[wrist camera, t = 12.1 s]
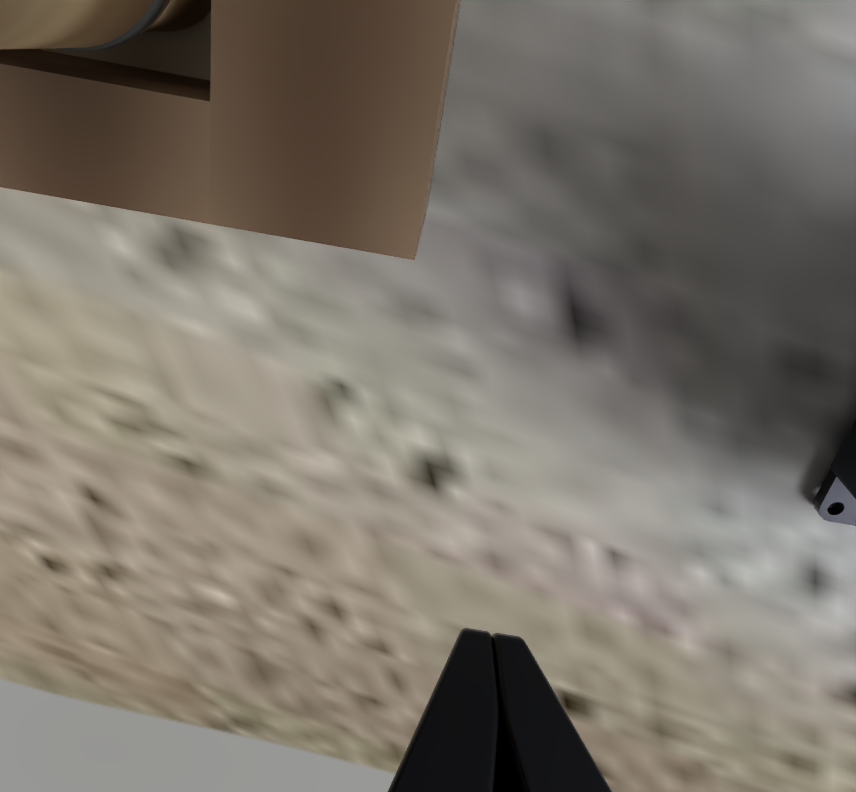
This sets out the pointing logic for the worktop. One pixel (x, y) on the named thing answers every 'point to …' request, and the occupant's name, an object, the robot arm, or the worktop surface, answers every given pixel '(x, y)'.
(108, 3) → the oak peg
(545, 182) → the worktop surface
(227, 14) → the walnut socket block
